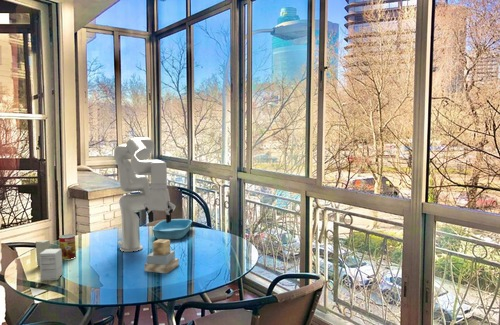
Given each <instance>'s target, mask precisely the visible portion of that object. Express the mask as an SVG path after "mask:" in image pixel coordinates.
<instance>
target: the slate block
mask: <svg viewBox="0 0 500 325" xmlns="http://www.w3.org/2000/svg"><path fill="white" fill-rule="evenodd" d="M175 258H176V251H175V250H170V252H169V253H167V254H166V255H155V254H153V251H152V252H151V253H148V255H146V261H147V262H146V263H147V264H158V265H167V264H169V263H170V262H171V261H172V260H174V259H175Z"/></svg>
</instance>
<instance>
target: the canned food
mask: <svg viewBox="0 0 500 325" xmlns="http://www.w3.org/2000/svg"><path fill="white" fill-rule="evenodd" d="M58 240H59V241H58V242H59V243H58V245H59V248H58V249H61V250H62V259H71V258H74V257H76V258H77V253H76V252H77V247H76V234H74V233H73V234H71V233H69V234H67V233H66V234H63V235H60V236H58ZM74 259H75V258H74ZM71 260H72V259H71Z"/></svg>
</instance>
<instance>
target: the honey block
mask: <svg viewBox="0 0 500 325" xmlns="http://www.w3.org/2000/svg"><path fill="white" fill-rule="evenodd" d="M152 250H153V251H152V252H153V254H155V255H166V254H167V253H169V252H170V251H171V239H157V240H154V241H153V242H152Z"/></svg>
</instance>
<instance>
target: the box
mask: <svg viewBox="0 0 500 325" xmlns="http://www.w3.org/2000/svg"><path fill="white" fill-rule="evenodd" d="M50 241H51V240H50V239H41V240H37V241H35V251H36V263H37V265H38V266H40V256H39V254H40V253H41V252H43V251H44V250H45V249H51V242H50ZM38 266H37V267H38Z"/></svg>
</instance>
